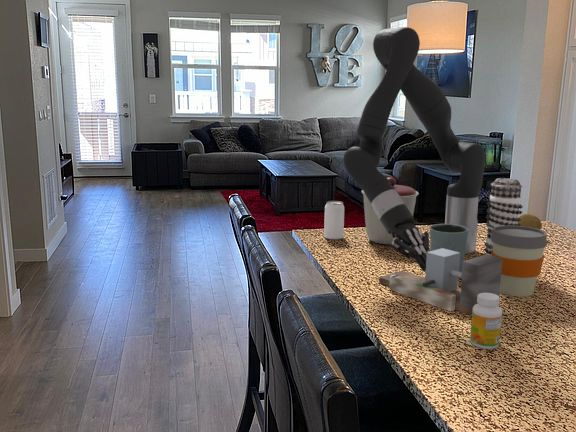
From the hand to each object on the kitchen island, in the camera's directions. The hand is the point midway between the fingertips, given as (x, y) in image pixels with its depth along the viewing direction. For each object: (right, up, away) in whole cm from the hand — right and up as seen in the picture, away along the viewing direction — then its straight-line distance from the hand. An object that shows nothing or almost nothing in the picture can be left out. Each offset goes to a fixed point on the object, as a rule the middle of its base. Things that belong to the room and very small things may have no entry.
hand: (428, 269), depth 136 cm
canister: (-1, +5, +48) cm, 49 cm away
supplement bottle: (+4, -12, -27) cm, 30 cm away
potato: (+47, +6, +55) cm, 73 cm away
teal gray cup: (+9, -2, +18) cm, 20 cm away
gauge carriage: (+2, -5, -5) cm, 7 cm away
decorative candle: (+24, -2, +20) cm, 31 cm away
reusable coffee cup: (+22, -6, +3) cm, 23 cm away
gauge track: (+1, -6, -1) cm, 6 cm away
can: (-19, +6, +52) cm, 56 cm away
